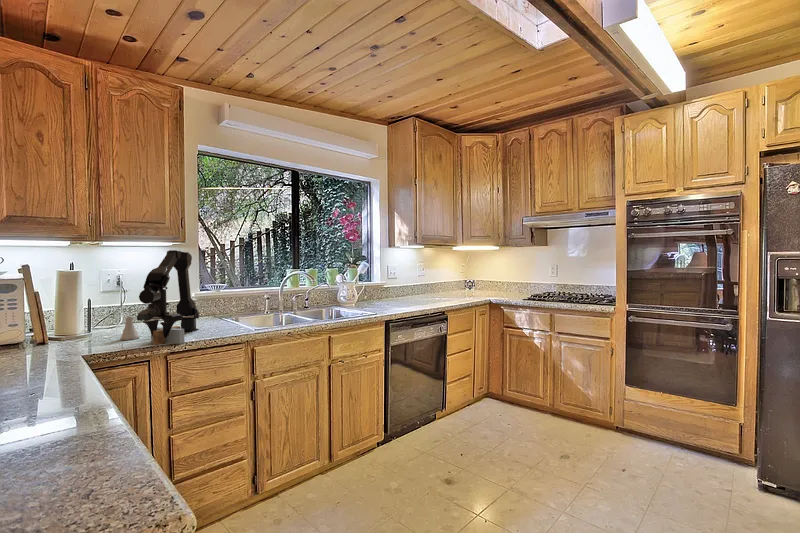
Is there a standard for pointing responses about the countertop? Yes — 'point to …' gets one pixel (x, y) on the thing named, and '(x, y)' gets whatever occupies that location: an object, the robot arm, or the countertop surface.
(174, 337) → the slotted stand
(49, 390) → the countertop surface
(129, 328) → the flask
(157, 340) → the walnut board
